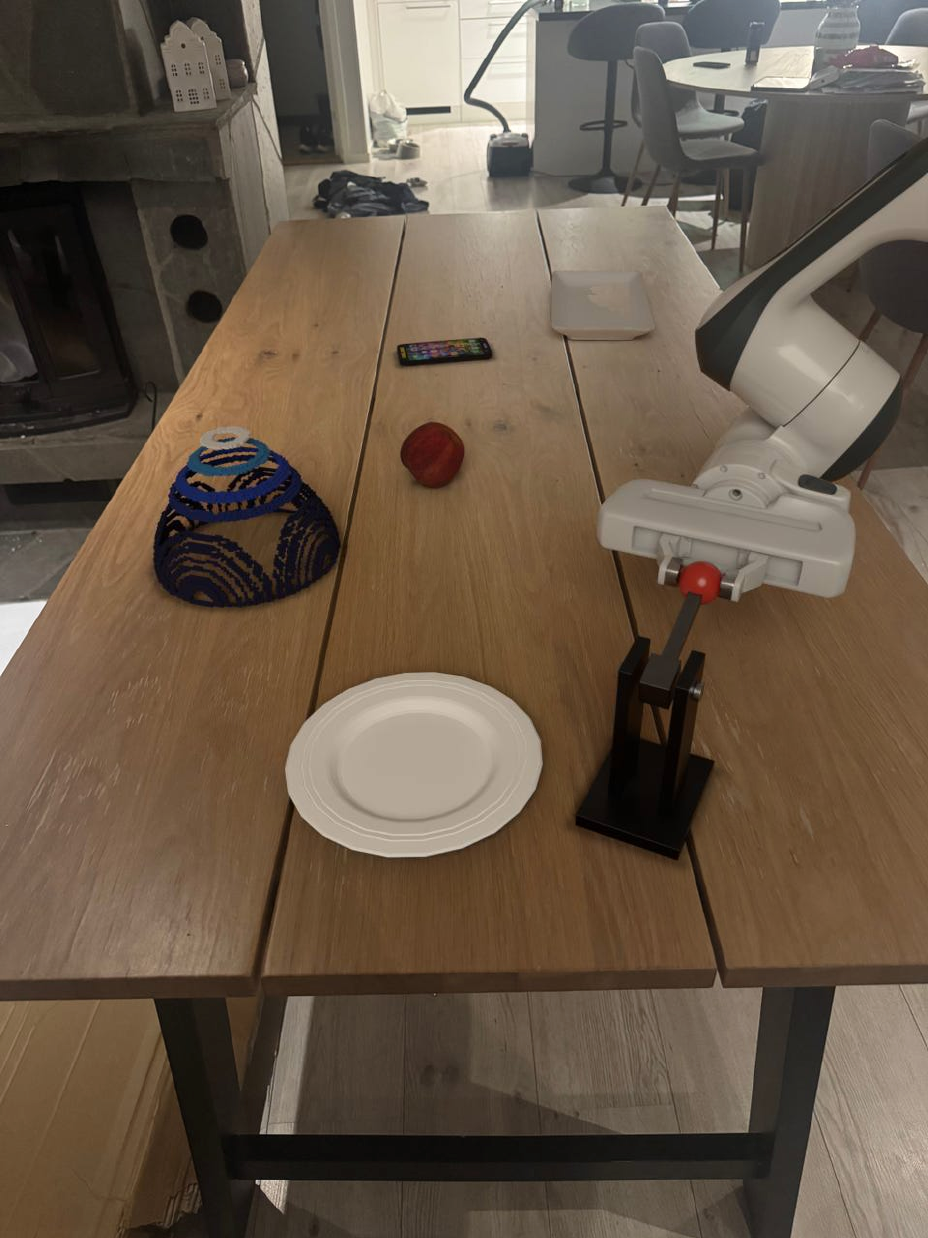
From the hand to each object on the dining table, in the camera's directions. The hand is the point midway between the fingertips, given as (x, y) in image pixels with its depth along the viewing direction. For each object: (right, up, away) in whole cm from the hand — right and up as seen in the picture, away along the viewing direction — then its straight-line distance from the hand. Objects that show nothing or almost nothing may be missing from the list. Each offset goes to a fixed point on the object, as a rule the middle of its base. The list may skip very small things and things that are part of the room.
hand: (698, 585), depth 70 cm
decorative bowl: (-42, +4, +34) cm, 54 cm away
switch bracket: (-3, -17, +3) cm, 17 cm away
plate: (-22, -15, +6) cm, 27 cm away
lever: (-1, -4, 0) cm, 5 cm away
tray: (+6, +51, +93) cm, 106 cm away
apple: (-21, +14, +46) cm, 52 cm away
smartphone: (-21, +40, +80) cm, 92 cm away
